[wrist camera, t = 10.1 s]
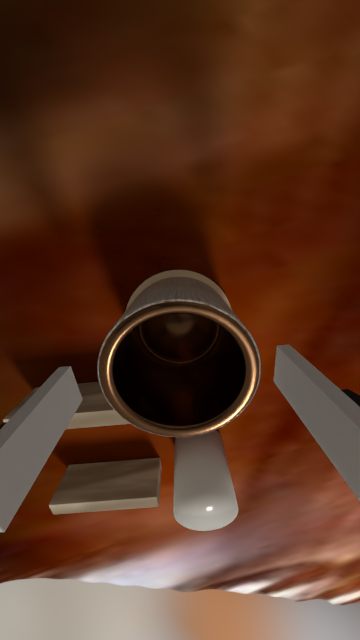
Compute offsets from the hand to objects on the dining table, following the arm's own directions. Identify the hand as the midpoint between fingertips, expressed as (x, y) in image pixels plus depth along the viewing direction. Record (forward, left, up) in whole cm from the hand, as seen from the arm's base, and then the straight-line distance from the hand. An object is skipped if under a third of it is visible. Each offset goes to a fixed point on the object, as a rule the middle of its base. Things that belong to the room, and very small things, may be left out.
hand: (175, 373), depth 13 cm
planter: (0, 0, -10) cm, 10 cm away
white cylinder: (+19, +1, -10) cm, 22 cm away
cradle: (+15, -12, -10) cm, 22 cm away
